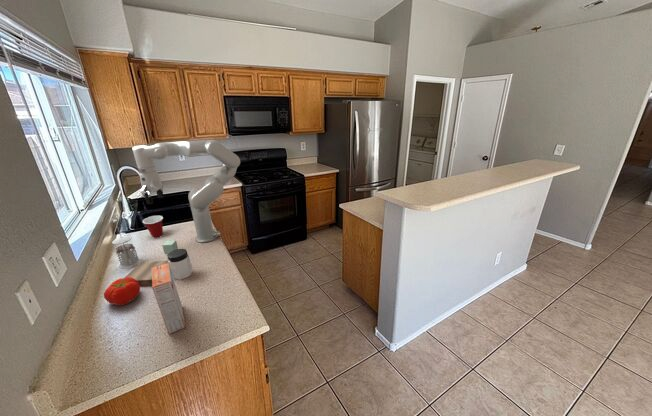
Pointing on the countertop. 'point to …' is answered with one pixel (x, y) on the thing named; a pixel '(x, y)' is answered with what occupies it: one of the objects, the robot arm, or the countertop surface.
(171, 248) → the sage block
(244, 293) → the countertop surface
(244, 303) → the countertop surface
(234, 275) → the countertop surface
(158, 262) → the walnut base
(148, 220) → the plastic cup
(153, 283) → the cracker box
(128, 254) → the french press
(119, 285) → the tomato
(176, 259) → the jar
